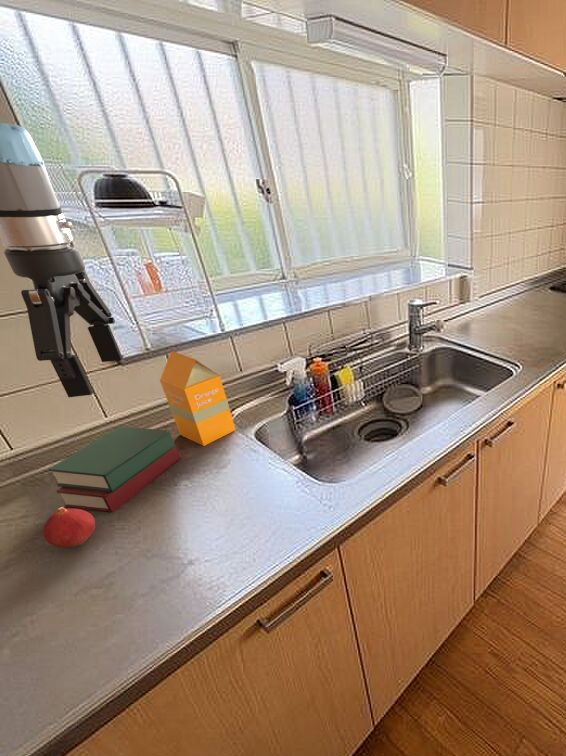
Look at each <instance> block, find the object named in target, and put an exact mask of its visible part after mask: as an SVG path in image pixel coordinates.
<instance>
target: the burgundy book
mask: <svg viewBox="0 0 566 756" xmlns="http://www.w3.org/2000/svg"><path fill="white" fill-rule="evenodd" d="M174 445H175V447H174V448H173V449H171V450H170V451H169V452H167V453H166V454H164V455H163V456H162V457H160V458H159V459H158V460H156V461H155V462H154V463H152V464H151V465H150V466H148V467H147V468H145V469H144V470H143V471H141V472H140V473H139V474H137V475H136V476H135V477H133V478H132V479H131V480H129V481H128V482H126V483H125V484H124V485H122V486H121V487H120V488H118V489H117V490H116V491H114V492H106V491H96V490H87V489H77V488H68V487H59V488H58V489H57V490H56V493H57V494H60V496H61V498H62V500H63V501H64V503H65V505H64V508H65V509H70V508H73V509H82V510H84V511H94V512H95V511H97V512H104V513H114V512H115V511H117V510H118V509H119V508H120V507H122V506H123V505H124V504H125V503H127V502H128V501H129V500H131V499H132V498H133V497H134V496H136V495H137V494H139V493H140V492H141V491H142V490H144V489H145V488H146V487H147V486H149V485H150V484H151V483H152V482H154V481H155V480H156V479H157V478H159V477H160V476H161V475H162V474H164V473H166V471H168V470H169V469H171V468H172V467H173V466H174V465H175V464H176V463H179V461H180V460H182V457H181V454H180V451H179V449H178V446H177V444H176V443H175V442H174Z"/></svg>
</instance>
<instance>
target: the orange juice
mask: <svg viewBox="0 0 566 756" xmlns="http://www.w3.org/2000/svg"><path fill="white" fill-rule="evenodd" d="M159 382H160V385H161V387H162V391H163V392H164V395H165V398H166V401H167V405H168V407H169V410H170V412H171V414H172V418H173V420H174V423H175V426H176V428H177V430H178V433H179V435H180V436H181V435H182V436H181V437H184V438H186V439H187V440H190V441H193V442H195V443H197V444H199V445H201V446H203V447H204V446H206V445H208V444H210V443H213V442H214V441H217V440H218V439H221V438H222V437H224V436H226V435H229V434H231V433H232V432H235V431H236V425H235V422H234V419H233V416H232V413H231V409H230V405H229V402H228V401H229V400H228V399H227V395H226V392H225V389H224V386H223V382H222V378H221V375H219V374H218V373H216V372H215V371H214V370H212V369H210V368H209V367H207V366H206V365H204V364H203V363H201V362H200V361H198V360H197V359H195V358H192V357H190V356H187V355H185V354H182V353H178V352H175V351H172V350H170V353H169V356H168V359H167V361H166V363H165V366H164V369H163V372H162V374H161V376H160V378H159Z"/></svg>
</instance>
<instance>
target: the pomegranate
mask: <svg viewBox="0 0 566 756" xmlns="http://www.w3.org/2000/svg"><path fill="white" fill-rule="evenodd" d="M95 529H96V521H95V517H94V516H93V515H92V513H90V512H88V511H87V510H84V509H75V508H66V507H64V506H61V507H58V508H57V509H56V511H55V512H54V513H53V514H51V515H50V516H49V518H48V519H47V520H46V522H45V524H44V525H43V527H42V535H43V539H44V541H45V542H46V543H47V544H48V545H51V546H53V547H57V548H72V547H79V546H82V545H83V544H84V543H85V542H86V541H87V540H88V539H89V538H90V537H91V536H92V534H93V533H94V531H95Z"/></svg>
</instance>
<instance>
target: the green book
mask: <svg viewBox="0 0 566 756" xmlns="http://www.w3.org/2000/svg"><path fill="white" fill-rule="evenodd" d="M174 443H175V442H174V440H173V437H172V435H171V431H170V430H167V429H157V428H156V429H155V428H145V427H135V426H125V425H124V426H123V425H120V426H117V427H116V428H114V429H113V430H111V431H109V432H108V433H106V434H105V435H103V436H101V437H100V438H98V439H96V440H95V441H92V442H90V443H89V444H88V445H86V446H85V447H83V448H80V450H77V451H76V452H74V453H73V454H71V455H69V456H67V457H66V458H64V459H63V460H61V461H59V462H58V463H56V464H54V465H52V466H51V467H49V468H47V469H48V471H49V472H52V474H53V476H54V478H55V479H56V482H57V484H56V486H57V487H59V488H61V487H68V488H77V489H87V490H96V491H106V492H114V491H116V490H117V489H118V488H120V487H121V486H122V485H124V484H125V483H126V482H128V481H129V480H131V479H132V478H133V477H135V476H136V475H137V474H139V473H140V472H141V471H143V470H144V469H145V468H147V467H148V466H150V465H151V464H152V463H154V462H155V461H156V460H158V459H159V458H160V457H162V456H163V455H164V454H166V453H167V452H169V451H170V450H171V449H173V448H174V447H175V445H174Z"/></svg>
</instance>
